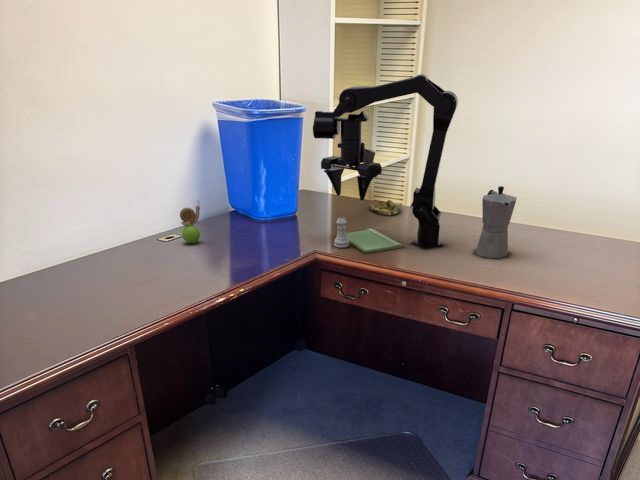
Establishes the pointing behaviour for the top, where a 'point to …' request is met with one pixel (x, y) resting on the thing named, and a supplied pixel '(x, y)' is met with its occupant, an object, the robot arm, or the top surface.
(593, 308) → the top surface
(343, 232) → the rook chess piece
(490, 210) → the coffeepot
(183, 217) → the snail figurine
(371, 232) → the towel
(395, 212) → the olive lumpy piece
